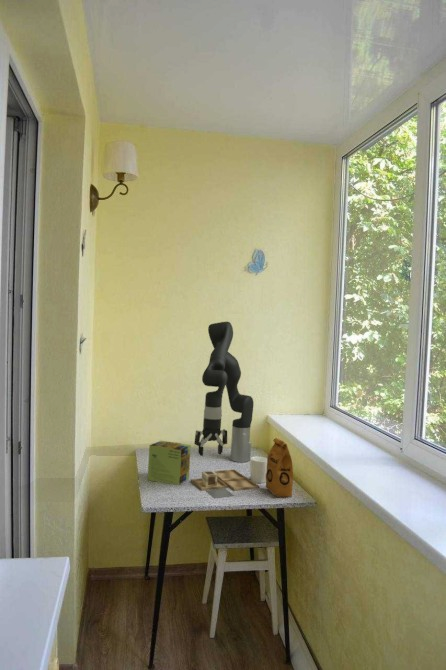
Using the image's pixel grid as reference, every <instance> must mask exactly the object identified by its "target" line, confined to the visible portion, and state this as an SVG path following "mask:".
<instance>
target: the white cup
mask: <svg viewBox="0 0 446 670" xmlns="http://www.w3.org/2000/svg"><path fill="white" fill-rule="evenodd" d="M249 464H250V473H249V474H250V480H251V481H253V482H254V483H256V484H264V483H266V472H267V457H265V456H250V463H249Z"/></svg>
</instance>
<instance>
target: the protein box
mask: <svg viewBox="0 0 446 670" xmlns="http://www.w3.org/2000/svg"><path fill="white" fill-rule="evenodd" d="M191 448H192V447H191V444H187V443H181V442H180V443H179V442H174V441H167V440H159V441H156V442H154V443H152V444H149V450H148V465H147V466H148V467H147V468H148V470H147V481H151V482H156V483H158V482H159V483H166V484H169V485H170V484H171V485H178V486H180V485H181V484H183V483H185V482H187V480H189V479H190V463H191Z"/></svg>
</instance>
